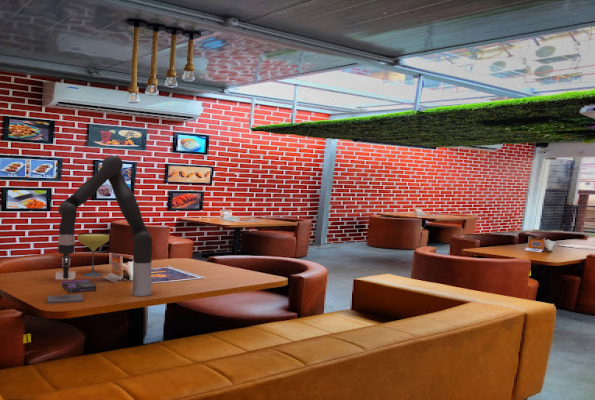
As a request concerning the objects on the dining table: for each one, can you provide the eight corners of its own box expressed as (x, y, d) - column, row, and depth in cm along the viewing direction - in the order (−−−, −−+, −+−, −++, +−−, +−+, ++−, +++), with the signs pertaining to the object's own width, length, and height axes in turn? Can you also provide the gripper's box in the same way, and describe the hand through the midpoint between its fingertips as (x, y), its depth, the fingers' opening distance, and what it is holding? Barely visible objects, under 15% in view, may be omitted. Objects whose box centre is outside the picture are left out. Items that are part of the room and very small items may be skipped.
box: (61, 287, 294) (68, 294, 277) (61, 281, 293) (68, 287, 277) (87, 285, 301) (96, 291, 285) (87, 279, 301) (96, 284, 285)
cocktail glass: (102, 271, 339) (103, 232, 338) (112, 276, 325) (113, 235, 324) (72, 273, 328) (73, 233, 327) (82, 278, 314) (83, 236, 313)
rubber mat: (82, 296, 272) (82, 294, 272) (83, 301, 261) (83, 299, 261) (47, 297, 266) (47, 295, 266) (47, 303, 255) (47, 301, 255)
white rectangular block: (55, 279, 260) (55, 272, 260) (58, 277, 265) (58, 271, 265) (73, 279, 262) (73, 273, 261) (75, 277, 266) (75, 271, 266)
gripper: (58, 241, 267) (57, 274, 268) (58, 245, 254) (57, 280, 255) (74, 241, 270) (73, 274, 271) (75, 245, 257) (74, 279, 258)
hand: (65, 277), depth 263 cm, fingers closed on white rectangular block, 5 cm apart
